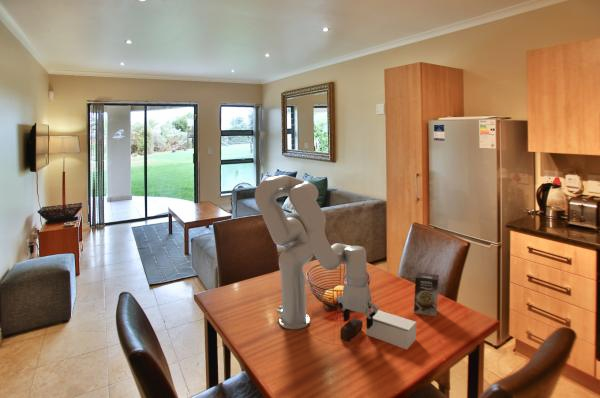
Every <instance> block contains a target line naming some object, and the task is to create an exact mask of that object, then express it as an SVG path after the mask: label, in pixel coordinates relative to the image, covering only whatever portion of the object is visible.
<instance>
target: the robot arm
mask: <svg viewBox="0 0 600 398" xmlns="http://www.w3.org/2000/svg"><path fill="white" fill-rule="evenodd" d="M281 197H288V199H289V202H290V203H291V205H292V207H293V209H294V210H295V212H296V214H297V215H298V217H299V218H300V220H301V221H300V220H299V219H297V218H296V217H291V216H289V217H287V216H286V214H285V211H284V209H283V208H282V206H281V204H280V203H278V202H277V199H278V198H281ZM318 197H319V190H318V188H317V186H316V185H315V184H314V183H312V182H310V181H307V180H303V179H300V178H296V177H294V176H290V175H287V174H282V175H277V176H271V177H268V178H266V179H263V180H261V181H260V182H259V183H258V184H257V186H256V189H255V191H254V201H255V204H256V207H257V208H258V210H259V213H261V216H262V219H263V221H264V223H265V225H266V228H267V230H268V232H269V234H270V236H271V239H272V241H273V243H274V244H275V245H276V246H279V247H282V246H287V245H289V246H288V247H286V248H285V249H283V250H282V252H281V253H280V255H279V256H278V266H279V272H280V280H281V301H282V302H281V305H278V306H277V309H276V313H277V314H280V317H279V318H278V324H279V325H280V326H281V327H282V328H284V329H288V330H300V329H304V328H306V327H308V325H310V322H311V319H310V316H309V315H308V314H307V303H306V302H307V301H306V296H307V295H306V290H307V289H306V276H305V272H304V270H303V269H304V267H305V265H307V264H309V262H311V260H312V259H313V258H314V256H315V259H316V260H317V262H318V263H319V264H320V266H321V267H323V269H325V270H327V271H333V270H337V268H339V267H340V266H341V265H342V264H345V274H343V278H344V279H345V281H344V282H343V287H342V288H343V289H342V295H339V296H338V297H337V298H336V300H337V303H338V305H339V307H340V308H341V311H342V313H343V314H342V315H343V322H348V321H350V320H351V319H350V318H351V313H350V311H352V312H355V313H359V314H362V315H364V314H365V316H366V318H365V319H366V320H365V322H366V325H367V329H369V328H370V327H371V326H372V325H373V316H374V315H376V314H377V312H378V310H380V307H379V306H378V305H376V304H375V303H374V302H373V301H372V295H371V290H370V285H369V283H368V280H367V279H368V278H367V277H368V276H367V275H368V274H367V271H368V270H367V251H366V248H365V247H363V246H362V245H349V244H346V243H345V244H344V243H339V242H337V243H332V245H331V244H330V243H329V240H328V239H327V235H326V223H327V222H326V220H327V217H326V215H325V213H324V211H323V209H322V208H321V207H320V205H319V203H318V202H317V199H318ZM302 223H303V224H302ZM305 229H306V230H305ZM372 310H373V311H372ZM367 317H368V318H367Z"/></svg>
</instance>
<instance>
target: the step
mask: <svg viewBox="0 0 600 398" xmlns="http://www.w3.org/2000/svg"><path fill="white" fill-rule="evenodd" d="M367 318H368V317H367V316H366V319H367ZM365 328H366V330H365V331H366V333H365V334H366V336H369V337H371V338H374V339H377V340H379V341H383V342H385V343H388V344H391V345H393V346H395V347H399V348H402V349H404V350H408V349H409V348H410V347H411V346H412V345H413V343H414V342H415V341H417V321H414V320H411V319H408V318H406V317H402V316H399V315H396V314H392V313H388V312H386V311H382V310H380V309H379V310H378V312H377V314H376V315H374V316H373V325H372V326H371V327H370V328H369V329H367V325H366V327H365Z"/></svg>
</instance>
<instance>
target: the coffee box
mask: <svg viewBox="0 0 600 398" xmlns="http://www.w3.org/2000/svg"><path fill="white" fill-rule="evenodd" d="M439 278H440V277H439V274H432V273H424V272H416V274H415V281H414V285H415V286H414V303H413V304H414V305H413V313H414V314H416V315H417V314H418V315H423V316H430V317H437V312H438V311H437V310H438V296H439V295H438V294H439V280H440V279H439Z"/></svg>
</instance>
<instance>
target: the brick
mask: <svg viewBox="0 0 600 398" xmlns="http://www.w3.org/2000/svg"><path fill="white" fill-rule="evenodd" d="M362 329H363V321H362V320H360V319H359V318H354V317H353V318H351V319H349V320H348V321H347V323H345V324H344V325H342V326H341V327H340V330H339V331H340V333H339V335H340V340H343V341H346V342H348V343H349V342H351V341H352V339H354V338H355V337H356V336H357V335H359V334H360V332H362Z"/></svg>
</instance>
